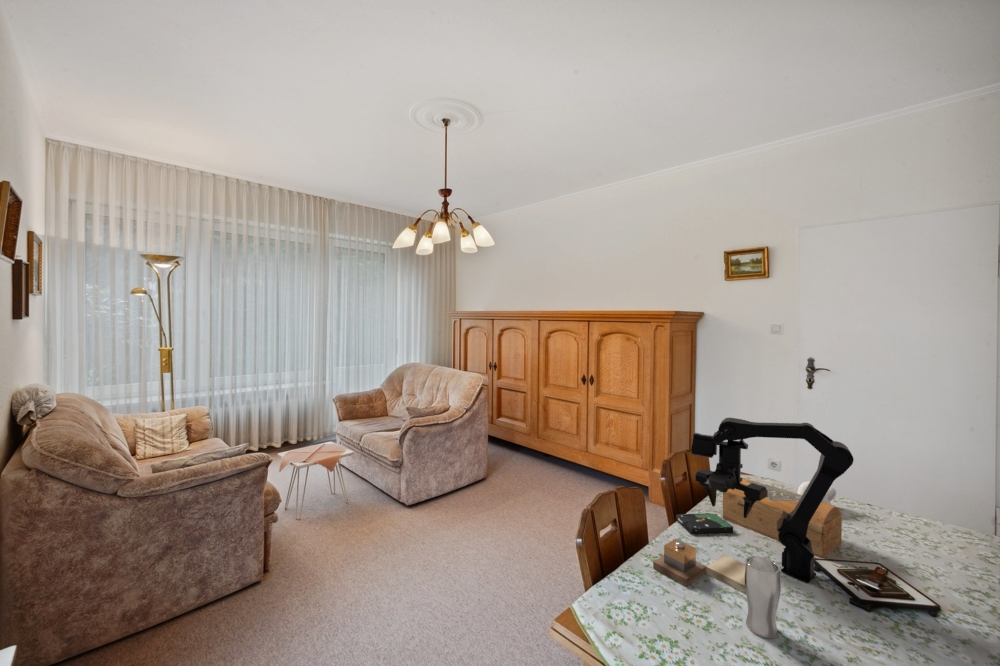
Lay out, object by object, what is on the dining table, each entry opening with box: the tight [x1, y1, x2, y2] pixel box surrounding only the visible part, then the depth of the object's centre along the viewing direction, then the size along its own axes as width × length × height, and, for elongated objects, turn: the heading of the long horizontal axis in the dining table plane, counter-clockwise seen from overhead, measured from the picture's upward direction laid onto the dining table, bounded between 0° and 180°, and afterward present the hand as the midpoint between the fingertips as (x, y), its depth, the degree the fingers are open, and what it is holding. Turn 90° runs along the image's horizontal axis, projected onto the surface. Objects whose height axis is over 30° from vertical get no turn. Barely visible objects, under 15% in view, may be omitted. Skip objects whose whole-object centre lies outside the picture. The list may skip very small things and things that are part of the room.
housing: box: [663, 538, 697, 573], centre depth 114 cm, size 6×6×6 cm
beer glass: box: [744, 555, 782, 640], centre depth 92 cm, size 7×7×15 cm
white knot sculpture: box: [796, 480, 837, 505], centre depth 153 cm, size 11×12×9 cm
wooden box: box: [722, 477, 843, 560], centre depth 136 cm, size 30×16×14 cm, turn 32°
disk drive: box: [675, 512, 734, 536], centre depth 139 cm, size 10×3×15 cm
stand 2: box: [705, 554, 746, 594], centre depth 112 cm, size 10×10×2 cm
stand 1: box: [652, 555, 707, 588], centre depth 114 cm, size 10×10×2 cm
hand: (729, 511), depth 122 cm, fingers open, 9 cm apart
